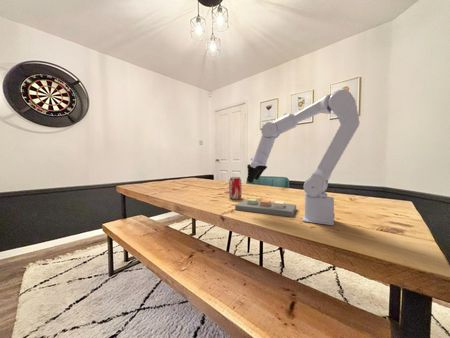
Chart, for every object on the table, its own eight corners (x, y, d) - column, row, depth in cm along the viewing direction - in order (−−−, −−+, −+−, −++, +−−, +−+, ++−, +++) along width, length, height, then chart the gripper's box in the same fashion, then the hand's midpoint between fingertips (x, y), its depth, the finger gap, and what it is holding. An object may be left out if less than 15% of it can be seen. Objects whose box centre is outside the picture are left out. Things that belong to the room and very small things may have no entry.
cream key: (284, 206, 79) (284, 201, 79) (282, 208, 76) (283, 203, 76) (276, 205, 81) (276, 201, 80) (274, 207, 77) (274, 202, 77)
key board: (296, 209, 81) (296, 204, 81) (292, 217, 70) (292, 211, 70) (245, 203, 92) (245, 199, 92) (235, 209, 81) (235, 205, 81)
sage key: (257, 204, 84) (257, 199, 84) (255, 205, 81) (255, 200, 81) (250, 203, 86) (250, 198, 86) (247, 204, 83) (247, 200, 83)
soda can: (239, 199, 101) (239, 178, 100) (227, 199, 103) (227, 177, 103) (242, 197, 108) (242, 176, 107) (231, 196, 110) (231, 176, 109)
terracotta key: (270, 205, 82) (270, 200, 82) (268, 207, 78) (268, 202, 78) (262, 204, 83) (262, 199, 83) (260, 206, 80) (260, 201, 80)
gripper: (259, 148, 86) (250, 174, 89) (248, 148, 73) (238, 179, 77) (274, 153, 83) (263, 180, 87) (264, 155, 70) (253, 186, 74)
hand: (252, 180), depth 81 cm, fingers open, 7 cm apart
